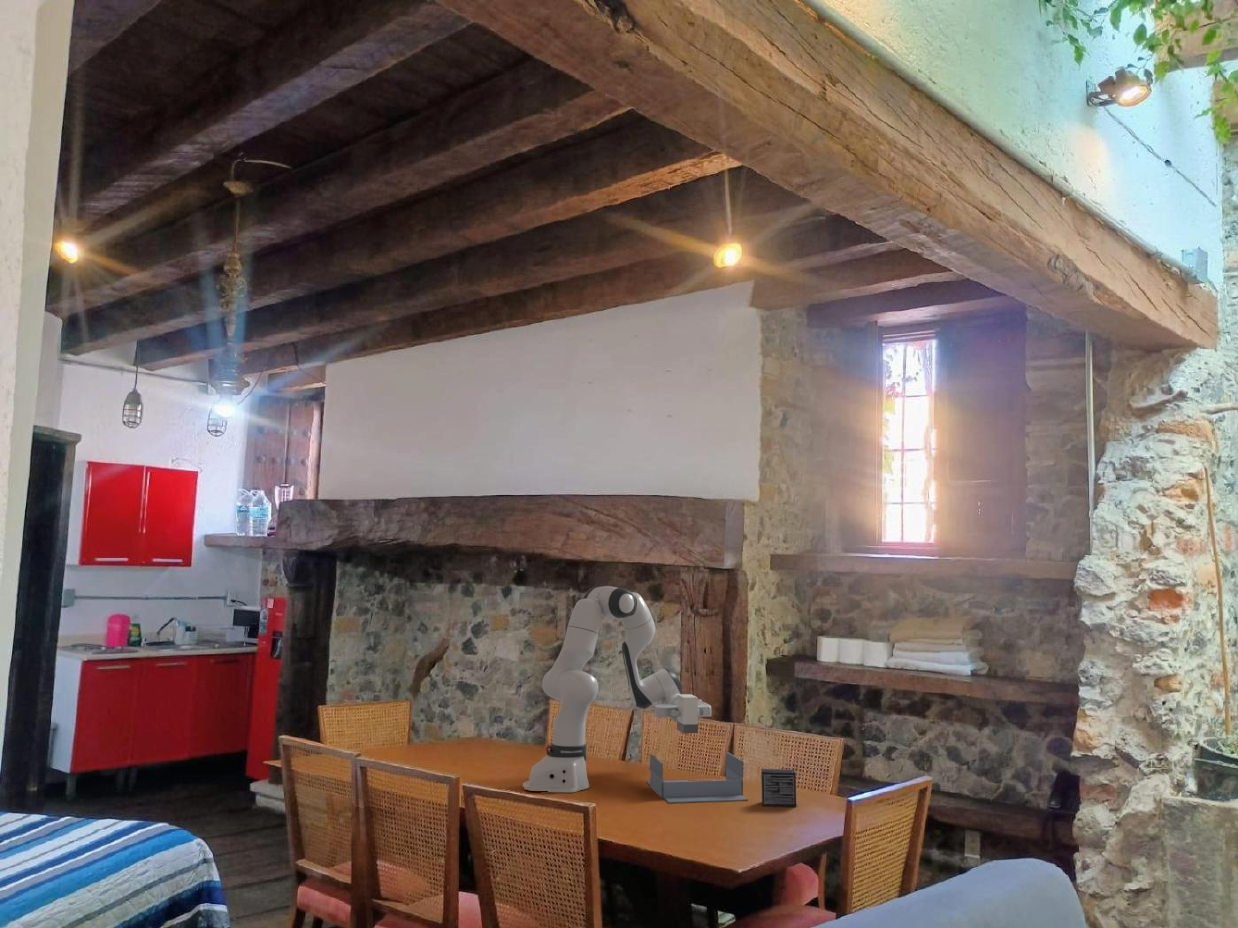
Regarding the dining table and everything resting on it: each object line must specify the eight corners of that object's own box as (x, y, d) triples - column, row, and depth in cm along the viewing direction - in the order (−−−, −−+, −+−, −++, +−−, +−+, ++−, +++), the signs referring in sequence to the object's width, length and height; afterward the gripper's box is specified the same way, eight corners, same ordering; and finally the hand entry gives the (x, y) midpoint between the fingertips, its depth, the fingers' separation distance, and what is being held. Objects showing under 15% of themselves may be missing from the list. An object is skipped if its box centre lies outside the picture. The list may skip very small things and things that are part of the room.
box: (683, 733, 328) (683, 697, 330) (676, 729, 337) (676, 694, 339) (697, 733, 329) (697, 697, 331) (690, 728, 338) (690, 694, 340)
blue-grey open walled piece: (666, 803, 303) (666, 767, 304) (644, 782, 334) (644, 749, 335) (750, 800, 308) (750, 764, 309) (721, 779, 339) (721, 747, 340)
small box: (795, 802, 306) (794, 768, 307) (796, 807, 299) (796, 772, 300) (761, 801, 307) (761, 767, 308) (762, 806, 300) (762, 771, 301)
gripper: (649, 699, 345) (658, 704, 332) (704, 699, 349) (715, 703, 335) (649, 717, 344) (658, 723, 331) (705, 716, 348) (716, 722, 335)
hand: (688, 713), depth 333 cm, fingers closed on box, 5 cm apart
